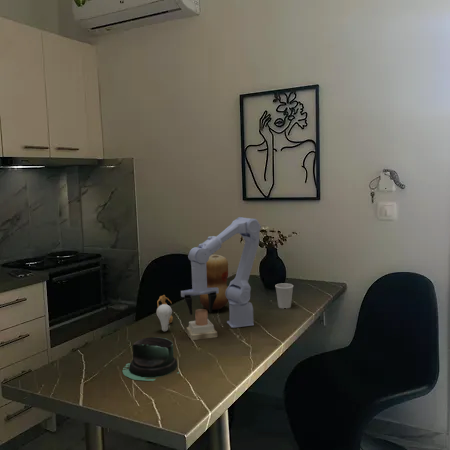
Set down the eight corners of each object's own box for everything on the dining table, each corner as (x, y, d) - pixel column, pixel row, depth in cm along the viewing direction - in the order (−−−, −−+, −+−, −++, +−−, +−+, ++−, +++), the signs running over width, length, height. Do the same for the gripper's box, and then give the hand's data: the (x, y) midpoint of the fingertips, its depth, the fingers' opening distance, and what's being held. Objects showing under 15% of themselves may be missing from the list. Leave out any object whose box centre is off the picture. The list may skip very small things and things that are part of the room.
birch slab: (211, 330, 190) (211, 324, 190) (217, 338, 181) (217, 332, 180) (186, 333, 188) (186, 327, 187) (191, 342, 178) (191, 335, 178)
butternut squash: (220, 315, 206) (218, 259, 203) (194, 311, 213) (192, 257, 209) (235, 307, 218) (234, 253, 215) (210, 303, 225) (209, 251, 221)
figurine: (165, 327, 193) (163, 298, 192) (154, 324, 197) (153, 296, 195) (178, 321, 200) (177, 293, 199) (167, 318, 204) (166, 291, 202)
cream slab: (208, 325, 189) (208, 319, 189) (213, 331, 181) (213, 325, 181) (189, 327, 187) (188, 321, 186) (193, 334, 179) (193, 328, 179)
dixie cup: (294, 309, 212) (294, 287, 211) (276, 309, 213) (275, 287, 211) (292, 303, 221) (292, 282, 219) (274, 304, 221) (274, 283, 220)
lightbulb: (175, 329, 190) (174, 302, 189) (168, 334, 184) (167, 307, 183) (161, 328, 192) (160, 301, 191) (154, 333, 186) (153, 306, 185)
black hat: (189, 357, 163) (188, 331, 162) (175, 383, 143) (173, 354, 142) (134, 355, 166) (133, 329, 165) (113, 380, 146) (111, 351, 145)
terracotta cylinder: (205, 320, 187) (205, 308, 186) (209, 324, 182) (209, 312, 181) (194, 321, 185) (193, 309, 184) (197, 326, 181) (196, 313, 180)
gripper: (182, 282, 176) (184, 318, 177) (220, 279, 179) (221, 313, 181) (179, 278, 182) (180, 312, 184) (215, 275, 186) (216, 308, 188)
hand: (200, 312), depth 183 cm, fingers open, 7 cm apart
